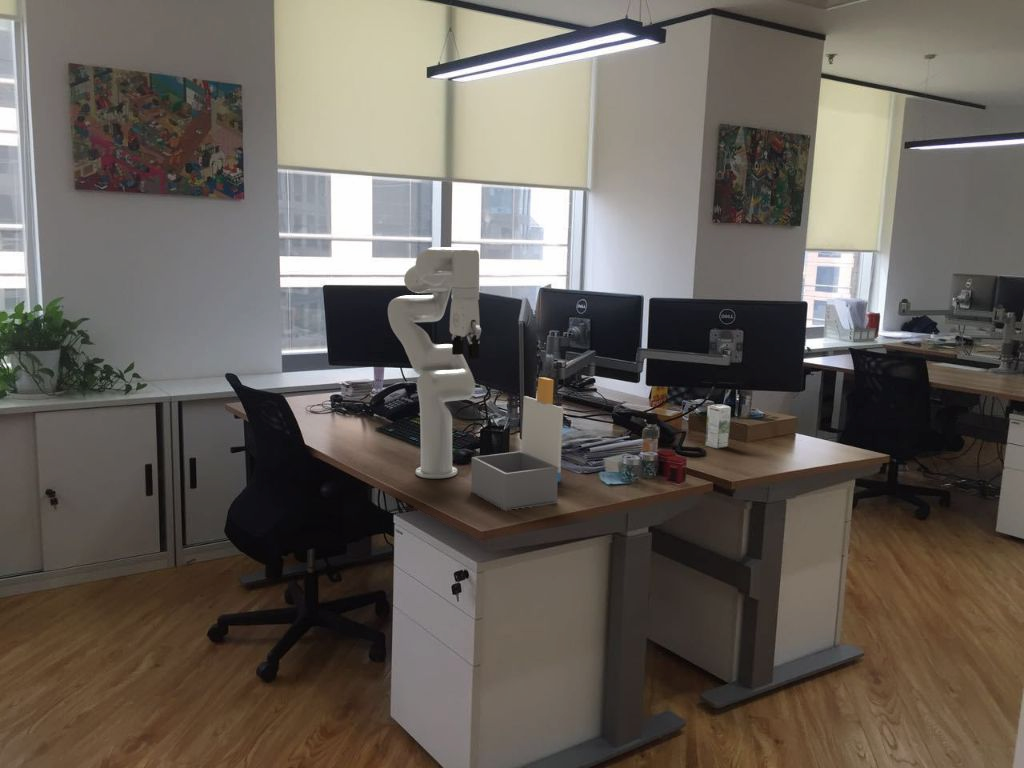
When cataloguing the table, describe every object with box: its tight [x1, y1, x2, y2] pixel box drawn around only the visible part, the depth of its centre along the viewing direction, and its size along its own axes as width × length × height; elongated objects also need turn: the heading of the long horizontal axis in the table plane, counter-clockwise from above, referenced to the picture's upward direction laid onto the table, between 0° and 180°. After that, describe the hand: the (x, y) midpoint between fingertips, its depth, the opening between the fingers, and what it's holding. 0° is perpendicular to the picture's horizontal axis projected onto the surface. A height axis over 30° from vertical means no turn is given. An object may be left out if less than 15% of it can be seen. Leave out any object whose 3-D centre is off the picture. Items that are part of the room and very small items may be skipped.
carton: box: [470, 450, 559, 512], centre depth 235 cm, size 20×16×10 cm
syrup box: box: [704, 403, 732, 449], centre depth 297 cm, size 6×6×14 cm
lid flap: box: [520, 376, 564, 467], centre depth 237 cm, size 20×22×2 cm
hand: (465, 356), depth 236 cm, fingers open, 9 cm apart
